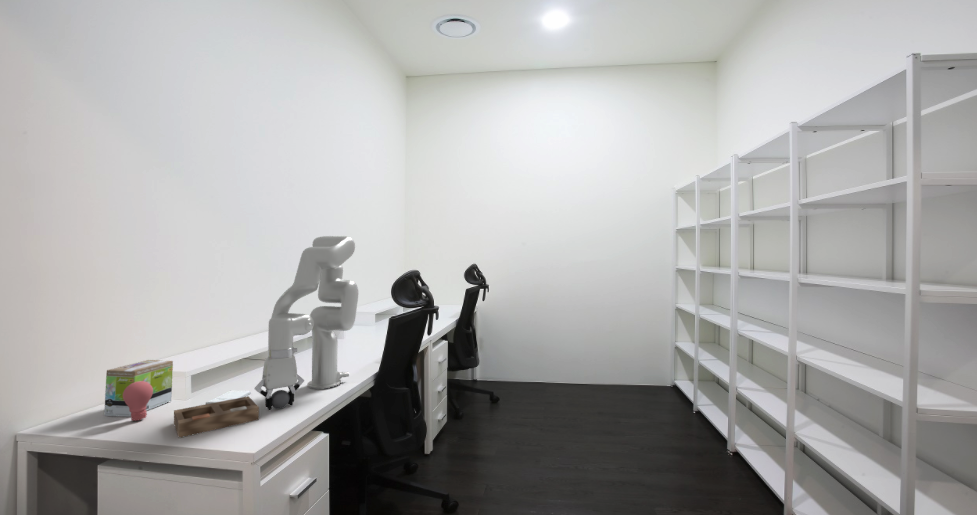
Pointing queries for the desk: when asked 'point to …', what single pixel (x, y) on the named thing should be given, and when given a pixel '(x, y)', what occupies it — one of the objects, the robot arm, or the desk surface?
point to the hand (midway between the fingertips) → (279, 406)
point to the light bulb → (138, 399)
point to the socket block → (215, 416)
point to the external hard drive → (229, 396)
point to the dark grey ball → (280, 399)
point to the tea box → (147, 371)
